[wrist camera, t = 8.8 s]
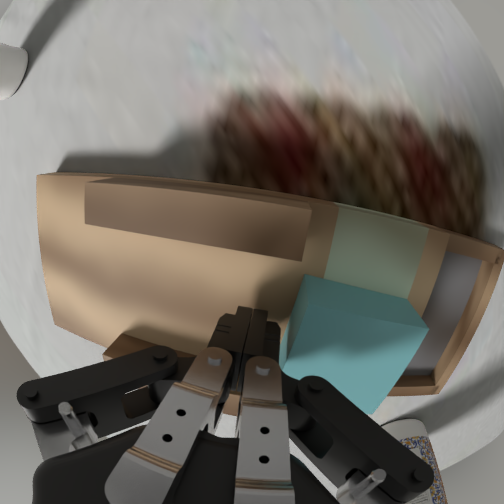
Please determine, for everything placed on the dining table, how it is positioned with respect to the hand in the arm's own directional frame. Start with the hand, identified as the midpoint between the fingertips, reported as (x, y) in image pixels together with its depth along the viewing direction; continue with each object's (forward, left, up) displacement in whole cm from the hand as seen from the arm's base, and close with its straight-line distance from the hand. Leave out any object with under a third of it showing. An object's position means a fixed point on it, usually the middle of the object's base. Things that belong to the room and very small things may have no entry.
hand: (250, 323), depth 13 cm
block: (0, +5, -1) cm, 5 cm away
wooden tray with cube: (0, 0, -3) cm, 3 cm away
